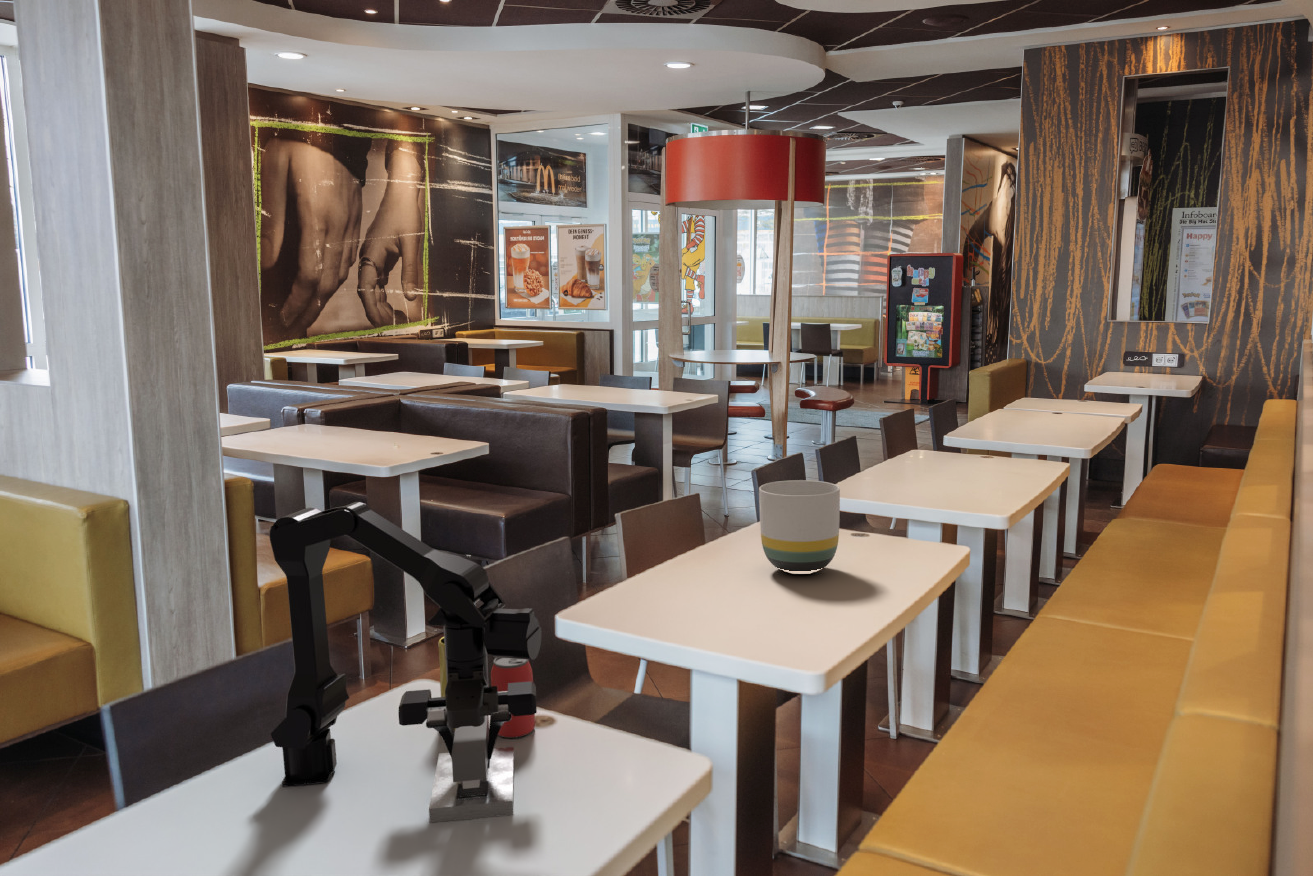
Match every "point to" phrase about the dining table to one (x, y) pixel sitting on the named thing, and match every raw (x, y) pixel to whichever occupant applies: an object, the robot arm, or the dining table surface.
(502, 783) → the mount plate
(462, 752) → the grey rectangular block
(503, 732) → the beer can
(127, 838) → the dining table surface
